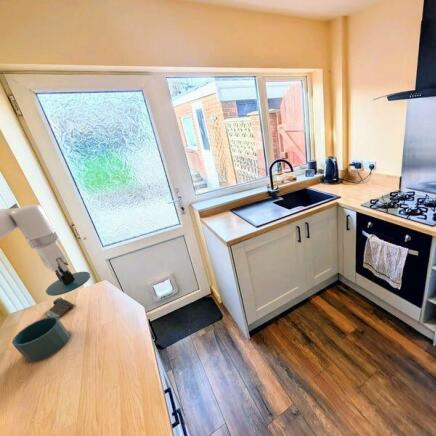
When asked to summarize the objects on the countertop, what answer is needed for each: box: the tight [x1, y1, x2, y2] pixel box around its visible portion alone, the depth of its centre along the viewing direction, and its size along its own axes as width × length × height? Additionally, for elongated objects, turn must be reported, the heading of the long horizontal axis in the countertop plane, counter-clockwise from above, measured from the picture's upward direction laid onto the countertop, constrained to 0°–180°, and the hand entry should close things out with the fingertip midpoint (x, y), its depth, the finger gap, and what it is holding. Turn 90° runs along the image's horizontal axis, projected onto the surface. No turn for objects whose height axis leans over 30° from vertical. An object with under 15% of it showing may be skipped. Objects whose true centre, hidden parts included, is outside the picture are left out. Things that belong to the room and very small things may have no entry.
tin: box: [11, 316, 70, 363], centre depth 90 cm, size 12×12×8 cm
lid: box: [45, 269, 91, 297], centre depth 94 cm, size 13×13×7 cm
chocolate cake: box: [45, 296, 75, 318], centre depth 107 cm, size 10×7×12 cm
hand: (67, 280), depth 94 cm, fingers closed on lid, 3 cm apart
